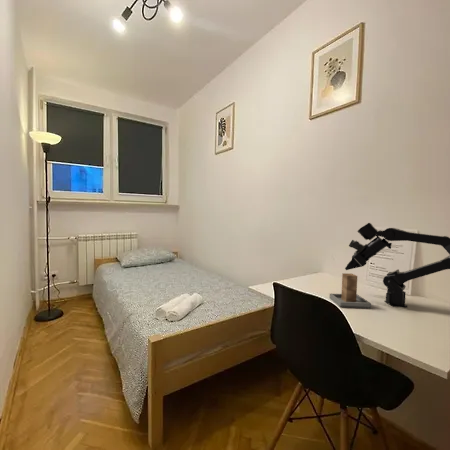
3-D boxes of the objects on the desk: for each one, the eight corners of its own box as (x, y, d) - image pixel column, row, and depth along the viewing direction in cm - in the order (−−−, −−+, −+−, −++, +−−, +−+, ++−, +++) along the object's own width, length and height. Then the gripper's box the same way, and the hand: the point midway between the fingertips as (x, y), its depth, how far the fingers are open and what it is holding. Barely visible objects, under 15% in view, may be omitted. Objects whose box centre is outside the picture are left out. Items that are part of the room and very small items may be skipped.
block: (350, 299, 116) (352, 273, 116) (356, 302, 112) (357, 276, 111) (341, 299, 116) (342, 273, 116) (346, 302, 112) (347, 275, 111)
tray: (356, 298, 119) (357, 294, 119) (371, 308, 107) (371, 303, 107) (329, 298, 120) (329, 293, 120) (340, 307, 108) (340, 302, 108)
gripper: (361, 233, 129) (337, 252, 136) (359, 236, 113) (331, 257, 120) (378, 250, 126) (352, 269, 132) (378, 255, 110) (349, 276, 116)
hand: (346, 267), depth 125 cm, fingers open, 9 cm apart
